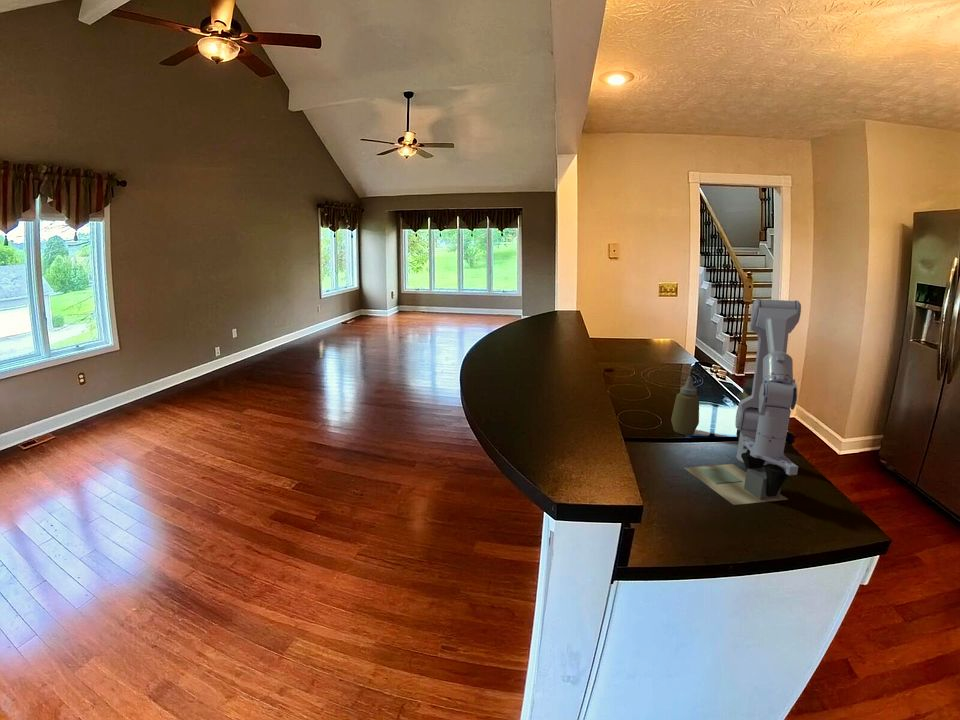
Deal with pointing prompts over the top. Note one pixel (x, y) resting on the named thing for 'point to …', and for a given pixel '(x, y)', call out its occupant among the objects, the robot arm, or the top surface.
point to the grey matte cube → (757, 483)
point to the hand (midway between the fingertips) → (761, 489)
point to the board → (728, 483)
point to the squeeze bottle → (686, 409)
